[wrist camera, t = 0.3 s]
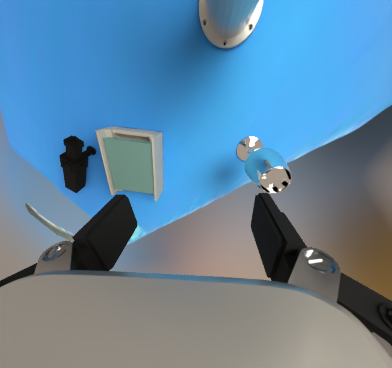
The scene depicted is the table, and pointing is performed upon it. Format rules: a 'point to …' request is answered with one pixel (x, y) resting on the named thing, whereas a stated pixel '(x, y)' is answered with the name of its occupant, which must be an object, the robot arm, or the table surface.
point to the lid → (130, 164)
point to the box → (141, 136)
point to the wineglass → (264, 165)
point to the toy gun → (75, 163)
